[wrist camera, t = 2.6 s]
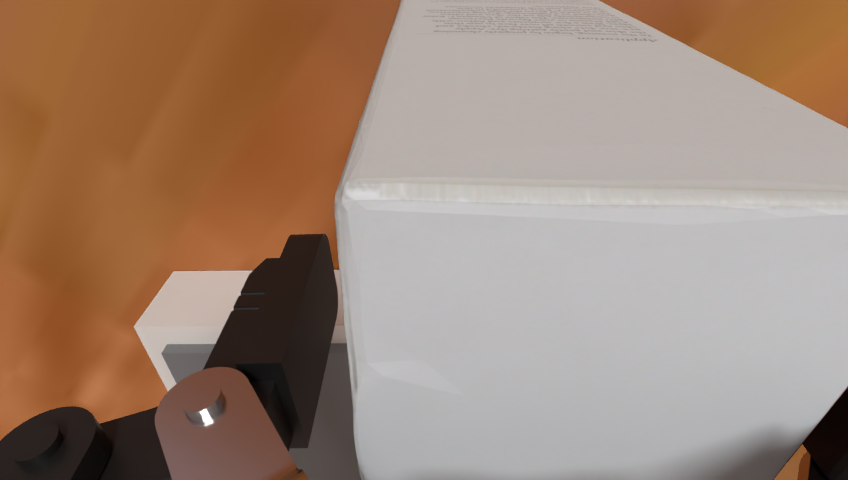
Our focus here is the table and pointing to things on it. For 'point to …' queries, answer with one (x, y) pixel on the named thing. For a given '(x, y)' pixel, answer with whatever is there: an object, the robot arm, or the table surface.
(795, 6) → the table surface
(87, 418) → the robot arm
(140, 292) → the table surface
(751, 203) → the small box
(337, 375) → the stack base
